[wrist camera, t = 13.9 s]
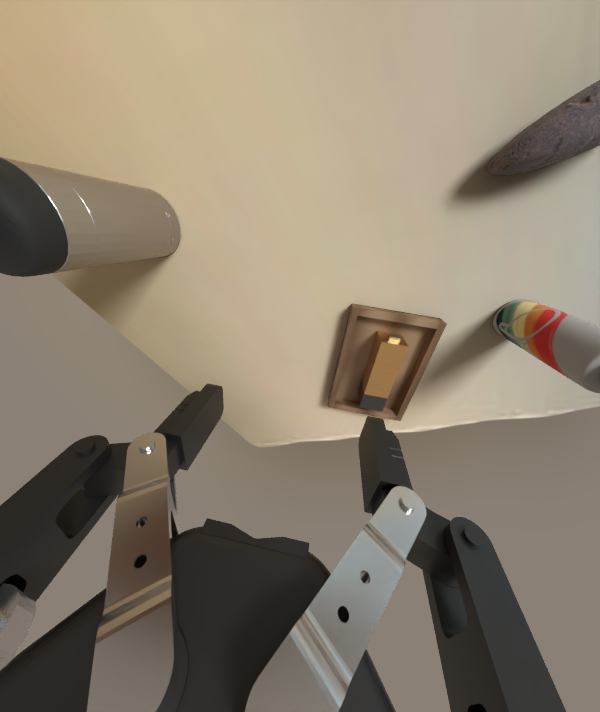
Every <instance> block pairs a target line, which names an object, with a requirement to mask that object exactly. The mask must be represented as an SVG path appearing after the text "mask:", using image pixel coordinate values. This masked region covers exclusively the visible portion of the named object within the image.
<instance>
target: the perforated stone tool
mask: <svg viewBox="0 0 600 712" xmlns="http://www.w3.org/2000/svg"><path fill="white" fill-rule="evenodd" d="M599 145H600V80H599V81H597V82H596V83H594V84H592V85H590V86H589V87H587V88H585V89H584V90H582V91H580V92H579V93H577V94H576V95H574V96H572V97H571V98H569V99H568V100H566V101H565V102H563V103H562V104H560V105H559V106H557V107H556V108H554V109H553V110H551V111H550V112H548V113H547V114H545V115H544V116H543V117H541V118H540V119H538V120H537V121H536V122H534V123H533V124H531V125H530V126H529V127H527V128H526V129H525V130H523V131H522V132H521V133H519V134H518V135H517V136H516V137H515V138H514V139H512V140H511V141H510V142H509V143H508V144H507V145H506V146H505V147H504V148H503V149H502V150H501V151H500V152H499V153H498V154H497V155H496V156H495V157H494V158H493V159H492V161H491V162H490V164H489V165H488V167H487V170H488V172H489V173H490V174H493V175H510V174H517V173H523V172H528V171H532V170H536V169H539V168H542V167H545V166H548V165H550V164H553V163H556V162H559V161H561V160H564V159H567V158H569V157H572V156H575V155H577V154H580V153H582V152H585V151H587V150H590V149H592V148H595V147H597V146H599Z"/></svg>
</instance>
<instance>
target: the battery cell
mask: <svg viewBox="0 0 600 712" xmlns="http://www.w3.org/2000/svg"><path fill="white" fill-rule="evenodd" d="M408 347H409V346H408V344H407V343H406V341H405V339H404V338H403V336H402V335H401V334H395V333H389V332H384V331H378V330H377V333H376V336H375V339H374V342H373V345H372V348H371V352H370V355H369V358H368V361H367V364H366V367H365V370H364V373H363V377H362V380H361V383H360V386H359V389H358V399H359V407H361V408H366V409H371V410H376V411H381V412H382V411H383V409H384V406H385V404H386V401H387V399H388V396H389V394H390V391H391V389H392V387H393V384H394V382H395V379H396V377H397V374H398V372H399V369H400V367H401V365H402V362H403V360H404V357H405V355H406V352H407V350H408Z"/></svg>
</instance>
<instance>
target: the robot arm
mask: <svg viewBox="0 0 600 712" xmlns="http://www.w3.org/2000/svg"><path fill="white" fill-rule="evenodd" d="M179 240H180V227H179V222H178V219H177V216H176V214H175V212H174V210H173V209H172V207H171V206H170V204H169V203H168V202H167V201H166V200H165V199H164V198H163V197H162V196H161V195H159V194H158V193H156V192H154V191H152V190H149V189H145V188H140V187H136V186H131V185H127V184H122V183H118V182H113V181H109V180H104V179H100V178H95V177H90V176H86V175H81V174H77V173H72V172H68V171H63V170H59V169H54V168H49V167H45V166H40V165H36V164H30V163H26V162H21V161H16V160H12V159H7V158H3V157H0V273H3V274H7V275H11V276H22V277H24V276H36V275H42V274H49V273H56V272H63V271H70V270H76V269H82V268H89V267H96V266H103V265H110V264H116V263H123V262H130V261H137V260H144V259H151V258H158V257H165V256H168V255H170V254H172V253H173V252H174V251H175V250H176V248H177V246H178V244H179ZM222 413H223V389H222V386H218V385H213V384H207V385H205V387H204V388H203V389H202V390H201V391H200V392H199V391H195V392H193V393H191V394H190V395H188V396H187V397H186V398H185V399H184V400H183V401H182V402H181V404H179V405H178V406H177V408H175V410H174V411H173V412H172V413H171V414H170V415H169V416H168V417H167V418H166V419H165V420H164V422H163V423H162V424H161V425H160V426H159V427H158V428H157V429H156V430H155V431H154V432H153V433H147V434H144V435H142V436H140V437H138V438H136V439H135V440H134V441H132V442H131V443H117V444H109V442H108V440H107V438H105V437H104V436H100V435H95V436H89V437H86V438H83V439H80V440H79V441H77V442H75V443H73V444H72V445H71V446H69V447H68V448H67V449H66V450H65V451H64V452H62V453H61V454H60V455H59V456H58V457H57V458H55V459H54V460H53V461H52V462H51V463H50V464H48V465H47V466H46V467H45V468H44V469H43V470H41V471H40V472H39V473H38V474H37V475H36V476H34V477H33V478H32V479H31V480H30V481H29V482H27V483H26V484H25V485H24V486H23V487H22V488H20V489H19V490H18V491H17V492H16V493H15V494H13V495H12V496H11V497H10V498H9V499H8V500H7V501H5V502H4V503H3V504H2V505H1V506H0V712H396V711H395V709H394V707H393V705H392V703H391V701H390V699H389V696H388V694H387V692H386V690H385V688H384V686H383V683H382V682H381V679H380V677H379V675H378V673H377V671H376V668H375V666H374V664H373V662H372V660H371V658H370V656H369V654H368V651H367V649H366V648H367V646H368V643H369V641H370V639H371V637H372V635H373V633H374V631H375V629H376V627H377V625H378V622H379V620H380V618H381V616H382V614H383V612H384V610H385V608H386V606H387V603H388V601H389V599H390V597H391V595H392V593H393V591H394V588H395V587H396V585H397V582H398V580H399V578H400V576H401V574H402V572H403V569H404V567H405V560H406V559H407V560H408V561H410V562H411V563H413V564H415V565H416V566H418V567H419V568H421V569H422V570H423V575H424V579H425V584H426V589H427V594H428V599H429V604H430V609H431V614H432V619H433V624H434V629H435V634H436V639H437V644H438V649H439V654H440V659H441V664H442V669H443V674H444V679H445V684H446V689H447V694H448V699H449V704H450V709H451V712H566V710H565V708H564V706H563V703H562V701H561V699H560V697H559V694H558V692H557V690H556V688H555V685H554V683H553V681H552V679H551V676H550V674H549V672H548V669H547V667H546V665H545V663H544V660H543V659H542V656H541V654H540V651H539V649H538V647H537V645H536V642H535V640H534V638H533V636H532V633H531V631H530V629H529V626H528V624H527V622H526V620H525V617H524V615H523V613H522V611H521V608H520V606H519V604H518V602H517V599H516V597H515V595H514V593H513V590H512V588H511V586H510V583H509V581H508V579H507V577H506V574H505V572H504V570H503V568H502V566H501V563H500V561H499V559H498V556H497V554H496V552H495V550H494V547H493V545H492V543H491V541H490V539H489V538H488V536H487V535H486V534H485V532H484V531H483V530H482V529H481V528H480V527H479V526H477V525H476V524H475V523H473V522H472V521H470V520H468V519H466V518H463V517H455V518H453V519H452V520H451V521H449V520H447V519H445V518H443V517H442V516H440V515H438V514H436V513H434V512H432V511H431V510H429V509H428V508H426V507H425V505H424V503H423V501H422V500H421V499H420V497H419V496H418V495H417V494H416V493H415V492H413V489H412V486H411V483H410V479H409V475H408V472H407V468H406V465H405V462H404V459H403V454H402V452H401V447H400V444H399V440H398V439H397V438H396V436H395V435H394V433H393V432H392V431H388V430H386V428H385V424H384V420H383V419H380V418H375V417H370V416H368V417H367V419H366V421H365V424H364V427H363V429H362V432H361V435H360V438H359V456H360V467H361V478H362V488H363V500H364V510H365V512H367V513H372V515H373V517H372V519H371V520H370V521H369V523H368V524H367V525H366V526H365V527H364V528H363V530H362V531H361V533H360V534H359V535H358V537H357V538H356V540H355V541H354V542H353V544H352V545H351V547H350V548H349V550H348V551H347V552H346V554H345V555H344V557H343V558H342V560H341V561H340V562H339V564H338V565H337V567H336V568H335V570H334V571H333V572H332V574H330V572H329V571H328V569H327V568H326V567H325V566H324V564H323V563H322V562H321V561H320V560H319V559H318V558H316V557H315V556H314V555H313V554H311V553H310V552H308V549H309V543H307V542H303V541H298V540H294V539H290V538H286V537H275V538H261V539H255V538H253V537H251V536H249V535H248V534H246V533H245V532H243V531H241V530H240V529H238V528H237V527H235V526H233V525H232V524H228V523H223V522H220V521H216V520H211V519H207V520H206V522H205V524H204V526H203V527H197V528H193V529H190V530H187V531H184V532H182V533H181V532H180V524H179V518H178V509H177V497H176V485H175V477H174V476H175V474H176V473H177V471H178V470H179V469H183V470H188V469H189V467H190V465H191V464H192V462H193V461H194V459H195V458H196V456H197V454H198V453H199V451H200V450H201V448H202V446H203V445H204V443H205V442H206V440H207V439H208V437H209V435H210V434H211V432H212V430H213V429H214V427H215V425H216V424H217V423H218V421H219V419H220V418H221V416H222ZM117 495H118V498H117V503H116V511H115V519H114V529H113V537H112V545H111V553H110V562H109V570H108V580H107V588H105V589H104V590H103V591H101V592H100V593H99V594H97V595H96V596H95V597H93V598H92V599H91V600H89V601H88V602H87V603H86V604H84V605H83V606H82V607H80V608H79V609H78V610H76V611H75V612H74V613H72V614H71V615H70V616H68V617H67V618H66V619H64V620H63V621H62V622H60V623H59V624H58V625H56V626H55V627H54V628H52V629H51V630H50V631H49V632H47V633H46V634H45V635H43V636H42V637H41V638H39V639H38V640H37V641H35V642H34V643H33V644H31V645H30V646H29V647H27V648H26V649H25V650H23V651H22V652H21V653H20V654H18V655H17V656H16V657H15V653H16V651H17V648H18V647H19V646H20V644H21V643H22V642H23V641H24V639H25V638H26V636H27V633H28V629H29V628H30V626H31V623H32V622H33V619H34V616H35V612H36V605H35V602H36V600H37V599H38V598H39V597H40V595H41V594H42V593H43V591H44V590H45V588H47V586H48V585H49V584H50V582H51V581H52V580H53V578H54V577H55V576H56V574H57V573H58V572H59V571H60V569H61V568H62V567H63V565H64V564H65V563H66V562H67V560H68V559H69V558H70V556H71V555H72V554H73V552H74V551H75V550H76V549H77V547H78V546H79V545H80V543H81V541H83V539H84V538H85V537H86V536H87V534H88V533H89V532H90V530H91V529H92V528H93V527H94V525H95V524H96V523H97V521H98V520H99V518H100V517H101V516H102V515H103V513H104V512H105V511H106V510H107V508H108V507H109V506H110V504H111V503H112V502H113V500H114V499H115V498H116V497H117ZM14 657H15V658H14Z"/></svg>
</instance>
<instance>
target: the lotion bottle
mask: <svg viewBox="0 0 600 712" xmlns="http://www.w3.org/2000/svg"><path fill="white" fill-rule="evenodd" d="M493 326H494V329H495V330H496V331H497V332H498V333H499V334H501V335H502V336H504V337H505V338H507V339H508V340H510V341H511V342H513V343H514V344H516V345H517V346H519V347H521V348H522V349H524V350H525V351H527V352H528V353H530V354H532V355H533V356H535V357H536V358H538V359H539V360H541V361H542V362H544V363H546V364H547V365H549V366H550V367H552V368H553V369H555V370H557V371H558V372H560V373H561V374H563V375H564V376H566V377H567V378H569V379H571V380H572V381H574V382H575V383H577V384H579V385H580V386H582V387H583V388H585V389H587V390H589V391H592V392H595V393H600V325H597V324H594V323H591V322H589V321H586V320H583V319H580V318H577V317H575V316H572V315H569V314H566V313H564V312H561V311H558V310H555V309H553V308H550V307H547V306H544V305H542V304H539V303H536V302H533V301H529V300H515V301H512V302H510V303H507V304H506V305H504V306H503V307H502V308H500V309H499V310H498V312H497V313H496V314H495V316H494V319H493Z"/></svg>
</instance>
